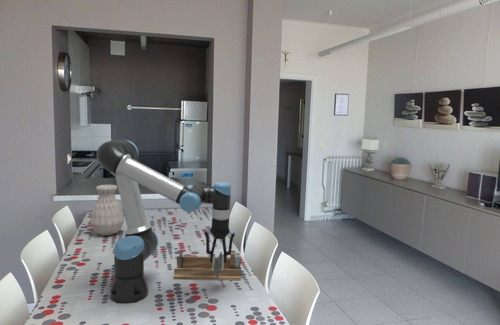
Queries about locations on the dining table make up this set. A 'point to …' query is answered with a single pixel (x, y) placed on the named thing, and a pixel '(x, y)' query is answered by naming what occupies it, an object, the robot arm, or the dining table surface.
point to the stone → (218, 265)
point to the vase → (106, 212)
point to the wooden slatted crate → (208, 268)
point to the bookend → (181, 259)
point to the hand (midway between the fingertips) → (217, 269)
